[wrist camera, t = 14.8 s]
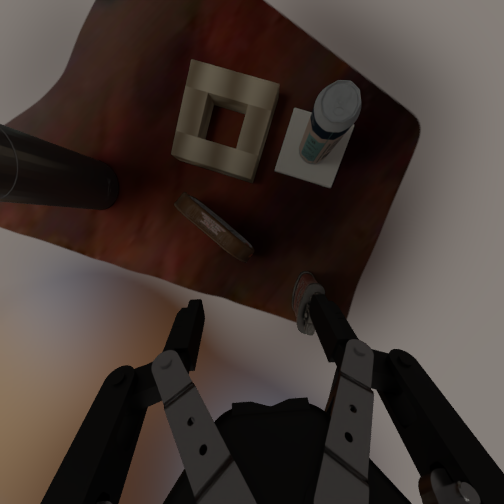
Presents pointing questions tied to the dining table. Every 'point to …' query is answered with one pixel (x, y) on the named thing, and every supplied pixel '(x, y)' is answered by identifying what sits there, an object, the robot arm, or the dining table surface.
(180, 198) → the tin
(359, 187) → the dining table surface
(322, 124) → the beer can
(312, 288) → the lighter
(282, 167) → the pad
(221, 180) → the dining table surface
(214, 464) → the robot arm
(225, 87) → the socket block
